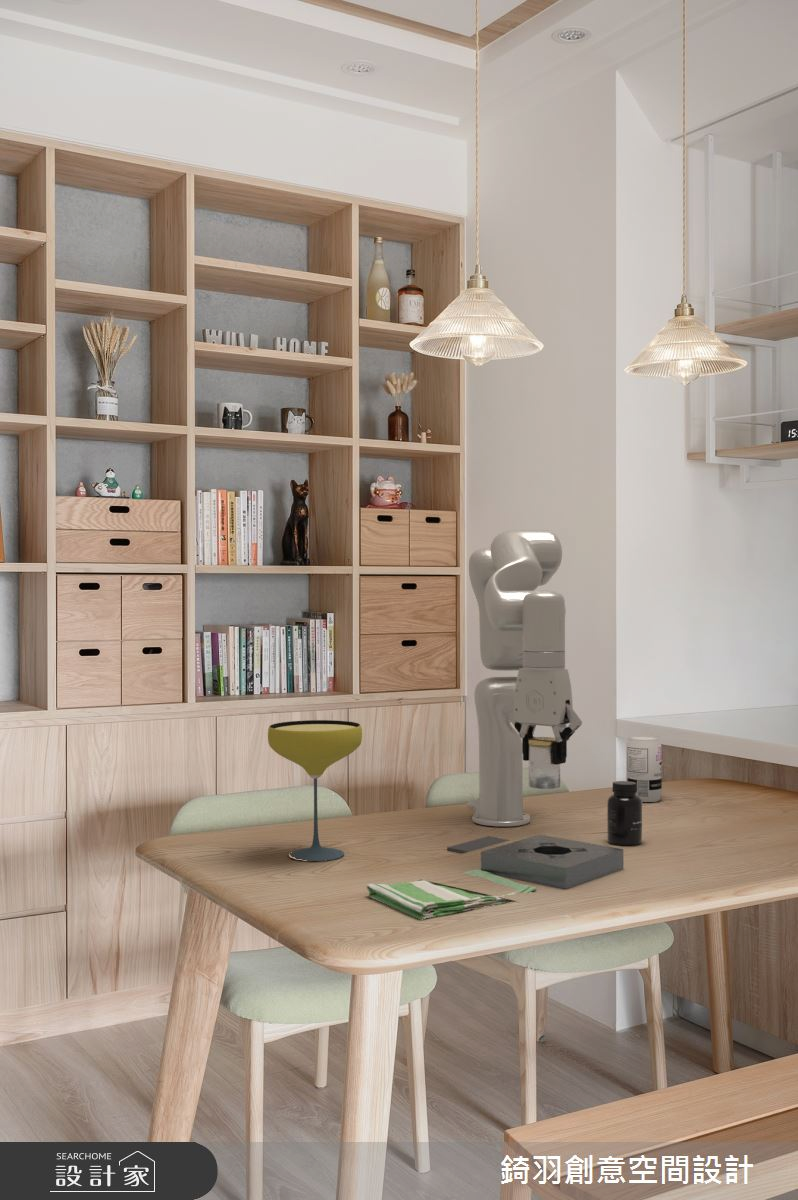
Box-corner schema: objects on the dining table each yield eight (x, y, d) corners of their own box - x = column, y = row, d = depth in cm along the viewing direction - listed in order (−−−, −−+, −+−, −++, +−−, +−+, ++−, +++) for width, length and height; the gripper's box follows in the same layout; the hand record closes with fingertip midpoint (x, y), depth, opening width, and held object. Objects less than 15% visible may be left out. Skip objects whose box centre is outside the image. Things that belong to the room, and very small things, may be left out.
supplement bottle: (642, 847, 219) (642, 786, 219) (607, 845, 221) (606, 785, 221) (642, 839, 226) (641, 780, 226) (607, 838, 228) (607, 779, 227)
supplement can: (622, 797, 272) (621, 736, 271) (655, 796, 272) (654, 735, 272) (632, 803, 264) (632, 740, 263) (666, 802, 264) (666, 739, 264)
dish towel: (539, 900, 184) (539, 884, 184) (422, 924, 171) (422, 907, 171) (474, 877, 199) (474, 862, 199) (362, 898, 186) (362, 882, 186)
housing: (481, 876, 197) (480, 851, 197) (540, 858, 211) (540, 834, 211) (566, 895, 185) (566, 868, 185) (623, 874, 199) (623, 849, 198)
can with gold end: (521, 786, 200) (521, 739, 200) (540, 781, 204) (540, 736, 204) (548, 790, 196) (548, 742, 196) (567, 785, 201) (566, 739, 200)
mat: (447, 850, 218) (447, 847, 218) (488, 839, 227) (488, 836, 227) (500, 860, 209) (500, 857, 209) (540, 848, 219) (540, 845, 219)
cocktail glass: (270, 845, 223) (268, 720, 222) (360, 843, 224) (359, 719, 224) (267, 868, 205) (266, 732, 204) (365, 865, 206) (364, 730, 206)
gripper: (492, 660, 203) (493, 759, 203) (572, 664, 191) (573, 769, 192) (517, 657, 209) (517, 754, 209) (596, 662, 197) (596, 764, 197)
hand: (544, 760), depth 200 cm, fingers closed on can with gold end, 5 cm apart
